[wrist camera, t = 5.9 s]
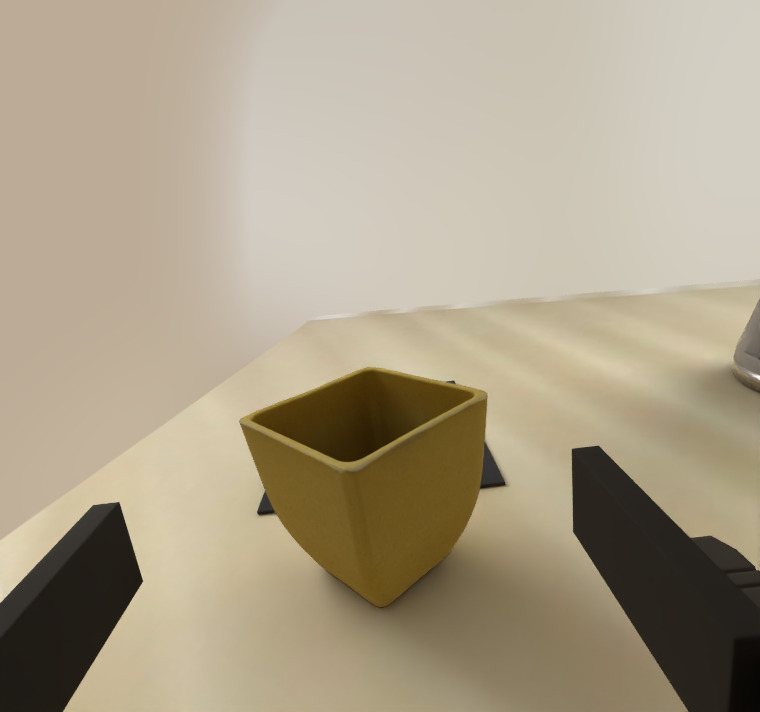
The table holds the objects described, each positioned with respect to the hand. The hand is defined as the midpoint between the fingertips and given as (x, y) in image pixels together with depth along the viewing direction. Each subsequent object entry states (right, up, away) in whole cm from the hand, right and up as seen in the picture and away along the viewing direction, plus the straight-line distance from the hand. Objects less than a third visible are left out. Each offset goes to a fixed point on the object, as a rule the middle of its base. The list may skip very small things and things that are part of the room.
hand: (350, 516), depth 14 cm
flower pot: (+1, -6, +12) cm, 14 cm away
